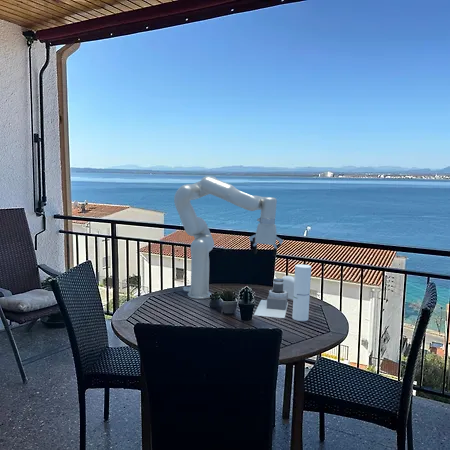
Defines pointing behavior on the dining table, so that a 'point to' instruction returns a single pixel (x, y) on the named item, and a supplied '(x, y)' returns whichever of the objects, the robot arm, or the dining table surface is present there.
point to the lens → (278, 285)
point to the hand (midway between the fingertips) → (264, 254)
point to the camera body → (277, 300)
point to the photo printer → (289, 286)
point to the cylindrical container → (301, 292)
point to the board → (269, 310)
